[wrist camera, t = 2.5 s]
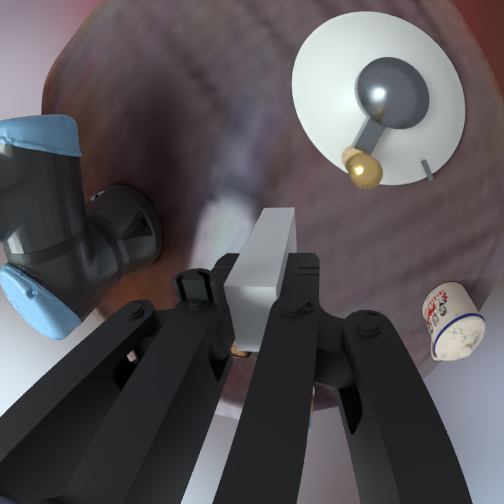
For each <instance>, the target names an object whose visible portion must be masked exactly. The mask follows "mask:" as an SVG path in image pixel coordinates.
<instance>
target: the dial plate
mask: <svg viewBox="0 0 504 504" xmlns="http://www.w3.org/2000/svg"><path fill="white" fill-rule="evenodd" d="M382 57H394V58H398V59H401V60H403V61H405V62H407V63H409V64H410V65H412V66H413V67H414V68H415V69H416V70H417V71H418V72H419V73H420V74H421V76H422V77H423V79H424V80H425V82H426V85H427V87H428V91H429V100H430V102H429V108H428V111H427V114H426V115H425V117H424V118H423V120H422V121H421V122H420V123H419V124H417V125H416V126H414V127H411V128H408V129H393V128H388V127H386V128H385V130H384V132H383V133H382V135H381V137H380V139H379V141H378V143H377V144H376V146H375V148H374V150H373V152H372V153H371V156H373V157H374V158H375V159H377V160H378V161H379V163H380V164H381V166H382V169H383V177H382V180H381V182H380V183H379V184H385V185H401V184H407V183H412V182H415V181H419V180H421V179H423V178H425V177H428V180H429V182H431V181H433V180H434V178H433V176H432V174H433V173H434V172H436V171H437V170H438V169H440V168H441V167H442V166H443V165H444V164H445V163H446V162H447V161H448V159H449V158H450V157H451V156H452V154H453V153H454V151H455V149H456V148H457V146H458V143H459V141H460V139H461V135H462V132H463V128H464V122H465V101H464V94H463V90H462V86H461V83H460V80H459V77H458V75H457V72H456V70H455V68H454V66H453V64H452V63H451V61H450V60H449V58H448V57H447V55H446V54H445V52H444V51H443V50H442V49H441V48H440V46H439V45H438V44H437V43H436V42H435V41H434V40H433V39H432V38H431V37H430V36H428V35H427V34H426V33H424V32H423V31H422V30H420V29H419V28H417V27H416V26H414V25H412V24H411V23H409V22H407V21H405V20H402V19H400V18H398V17H395V16H391V15H388V14H383V13H378V12H352V13H348V14H344V15H340V16H337V17H335V18H333V19H330V20H329V21H327V22H325V23H323V24H322V25H320V26H319V27H318V28H317V29H316V30H314V31H313V32H312V33H311V35H310V36H309V37H308V38H307V39H306V40H305V42H304V44H303V45H302V47H301V48H300V50H299V53H298V55H297V58H296V60H295V64H294V68H293V75H292V94H293V100H294V105H295V108H296V112H297V115H298V118H299V120H300V122H301V124H302V126H303V128H304V130H305V132H306V133H307V135H308V137H309V138H310V140H311V141H312V142H313V144H314V145H315V146H316V148H317V149H318V150H319V151H320V152H321V153H322V154H323V155H324V156H325V157H326V158H327V159H328V160H330V161H331V162H332V163H333V164H334V165H336V166H337V167H339V168H340V169H342V170H343V171H345V172H347V170H346V168H345V167H344V165H343V163H342V160H341V156H342V153H343V151H344V150H345V149H346V148H347V147H349V146H351V145H352V143H353V141H354V140H355V138H356V136H357V134H358V132H359V130H360V128H361V127H362V125H363V123H364V121H365V119H366V117H367V116H366V115H365V114H364V113H363V112H362V110H361V109H360V107H359V105H358V103H357V101H356V97H355V91H354V87H355V81H356V78H357V76H358V74H359V72H360V71H361V70H362V69H363V68H364V67H365V66H366V65H368V64H369V63H370V62H372V61H373V60H375V59H378V58H382ZM347 173H348V172H347Z"/></svg>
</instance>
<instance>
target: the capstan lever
mask: <svg viewBox="0 0 504 504" xmlns="http://www.w3.org/2000/svg"><path fill="white" fill-rule="evenodd" d="M354 91H355V97H356V101H357V103H358V105H359V107H360V109H361V110H362V112H363V113H364V114H365V115H366V116H367V117H366V119H365V121H364V123H363V125H362V127H361V128H360V130H359V132H358V134H357V136H356V138H355V140H354V141H353V143H352V145H351V146H349V147H347V148H346V149H345V150H344V151H343V153H342V156H341V160H342V163H343V165H344V167H345V168H346V170H347V172H348V174H349V175H350V177H351V179H352V181H353V182H354V183H355V184H356V185H357V186H358V187H360V188H362V189H371V188H374V187H376V186H377V185H378V184H379V183H380V182H381V180H382V177H383V169H382V166H381V164H380V163H379V161H378V160H377V159H375V158H374V157H373V156H371V153H372V152H373V150H374V148H375V146H376V144H377V143H378V141H379V139H380V137H381V135H382V133H383V132H384V130H385V128H386V127H388V128H393V129H408V128H411V127H414V126H416V125H417V124H419V123H420V122H421V121H422V120H423V118H424V117H425V115H426V114H427V111H428V108H429V102H430V100H429V91H428V87H427V85H426V82H425V80H424V79H423V77H422V76H421V74H420V73H419V72H418V71H417V70H416V69H415V68H414V67H413V66H412V65H410V64H409V63H407V62H405V61H403V60H401V59H398V58H394V57H382V58H378V59H375V60H373V61H372V62H370V63H369V64H368V65H366V66H365V67H364V68H363V69H362V70H361V71H360V72H359V74H358V76H357V78H356V81H355V87H354Z"/></svg>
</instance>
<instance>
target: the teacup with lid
mask: <svg viewBox="0 0 504 504" xmlns="http://www.w3.org/2000/svg"><path fill="white" fill-rule="evenodd" d="M422 312H423V316H424V319H425V322H426V324H427V327H428V330H429V333H430V335H431V338H432V342H431V354H432V357H433V359H434V360H445V361H453V360H457V359H460V358H462V357H467V356H469V355H470V354H471V352H472V351H473V350H474V349H475V348H476V347H477V346H478V345H479V343H480V342H481V341H482V339H483V336H484V334H485V329H486V325H485V320H484V318H483V317H482V316H481V315H480V314H479V312H478V310H477V309H476V307H475V305H474V304H473V302H472V300H471V298H470V297H469V295H468V293H467V292H466V290H465V289H464V287H463V286H462V285H461V284H459V283H456V282H448V283H444V284H442V285H440V286H438V287H436V288H435V289H434V290H433V291H432V292H431V293H430V294H429V295H428V296H427V298H426V299H425V302H424V304H423V309H422Z"/></svg>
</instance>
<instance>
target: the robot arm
mask: <svg viewBox="0 0 504 504" xmlns="http://www.w3.org/2000/svg"><path fill="white" fill-rule="evenodd" d="M80 156H82V152H81V151H80V147H79V137H78V127H77V123H76V121H75V120H74V119H73V118H72V117H71V116H69V115H64V114H53V115H38V116H27V117H19V118H12V119H6V120H2V121H0V243H2V245H3V247H4V250H5V254H6V257H7V260H8V263H7V264H4V265H2V268H1V270H0V283H1V286H2V288H3V290H4V292H5V294H6V296H7V298H8V299H9V301H10V302H11V303H12V305H13V306H14V307H15V309H16V310H17V311H18V313H19V314H20V315H21V316H22V317H23V318H24V319H25V320H26V321H27V322H28V323H29V324H30V325H31V326H32V327H33V328H34V329H36V330H37V331H38V332H40V333H41V334H43V335H44V336H46V337H48V338H50V339H54V340H62V339H64V338H66V337H67V336H68V335H69V334H70V333H71V332H72V331H73V330H74V329H75V328H76V327H77V326H80V325H81V323H82V322H83V321H84V320H85V319H86V317H87V316H88V315H89V314H90V313H91V312H92V311H93V309H94V308H95V307H96V306H97V305H98V304H99V303H100V302H101V300H102V299H103V298H104V297H105V296H106V295H107V294H108V293H109V292H110V290H111V289H112V288H113V287H114V286H115V285H116V284H117V283H118V282H119V281H120V280H122V279H125V278H127V277H130V276H132V275H134V274H136V273H140V272H142V271H144V270H145V269H147V268H148V267H149V266H150V265H151V264H152V263H153V262H154V261H155V260H156V259H157V257H158V256H159V254H160V251H161V248H162V243H163V234H162V228H161V224H160V221H159V218H158V216H157V214H156V212H155V210H154V208H153V207H152V205H151V204H150V203H149V201H148V200H147V199H146V198H145V197H144V196H143V195H142V194H140V193H139V192H138V191H136V190H134V189H133V188H130V187H128V186H124V185H112V186H109V187H106V188H104V189H102V190H100V191H99V192H97V193H96V194H95V195H94V196H93V197H92V198H91V199H90V200H89V202H88V203H87V204H86V205H85V200H84V193H83V185H82V176H81V164H80ZM172 281H173V284H174V287H175V291H176V294H177V297H178V300H179V302H178V304H177V305H176V307H175V308H173V309H167V310H159V311H155V309H154V306H153V304H152V303H151V302H150V301H148V300H143V299H141V300H134V301H132V302H129V303H127V304H126V305H124V306H122V307H121V308H120V309H119V310H118V311H116V312H115V313H114V314H113V315H112V316H110V317H109V318H108V319H107V320H106V321H105V322H103V323H102V324H101V325H100V326H99V327H98V328H96V329H95V330H94V331H93V332H92V333H91V334H89V335H88V336H87V337H86V338H85V339H84V340H83V341H81V342H80V343H79V344H78V345H77V346H76V347H75V348H73V349H72V350H71V351H70V352H69V353H68V354H67V355H66V356H64V357H63V358H62V359H61V360H60V361H59V362H58V363H57V364H56V365H54V366H53V367H52V368H51V369H50V370H49V371H48V372H47V373H46V374H45V375H43V376H42V377H41V378H40V379H39V380H38V381H37V382H36V383H35V384H34V385H33V386H32V387H31V388H30V389H29V390H28V391H26V392H25V393H24V394H23V395H22V396H21V397H20V398H19V399H18V400H17V401H16V402H15V403H14V404H13V405H12V406H11V407H10V408H9V409H8V410H7V411H6V412H5V413H4V414H3V415H2V416H1V417H0V504H181V501H182V498H183V496H184V493H185V491H186V488H187V485H188V483H189V480H190V478H191V475H192V472H193V470H194V467H195V464H196V462H197V459H198V456H199V454H200V451H201V448H202V446H203V443H204V440H205V437H206V435H207V432H208V429H209V427H210V424H211V421H212V418H213V416H214V413H215V410H216V407H217V404H218V402H219V399H220V396H221V393H222V390H223V388H224V385H225V382H226V379H227V376H228V374H229V371H230V368H231V365H232V362H233V355H232V351H231V348H232V346H233V343H234V340H235V343H236V347H237V350H241V351H252V352H259V354H258V357H257V361H256V364H255V368H254V371H253V375H252V379H251V382H250V386H249V389H248V392H247V396H246V399H245V403H244V406H243V409H242V413H241V416H240V419H239V423H238V426H237V429H236V433H235V436H234V439H233V442H232V446H231V449H230V452H229V455H228V458H227V461H226V465H225V467H224V471H223V474H222V477H221V480H220V483H219V486H218V489H217V492H216V494H215V497H214V501H213V503H212V504H296V503H297V498H298V492H299V487H300V482H301V475H302V470H303V464H304V458H305V451H306V444H307V437H308V430H309V422H310V414H311V405H312V395H313V385H314V381H316V382H319V383H322V384H325V385H329V386H332V387H334V391H335V395H336V399H337V402H338V406H339V410H340V414H341V418H342V422H343V426H344V430H345V434H346V438H347V442H348V446H349V451H350V455H351V460H352V464H353V469H354V473H355V478H356V483H357V487H358V492H359V497H360V502H361V504H473V503H472V500H471V497H470V494H469V490H468V487H467V484H466V481H465V478H464V475H463V472H462V470H461V467H460V464H459V461H458V459H457V456H456V454H455V451H454V448H453V446H452V443H451V441H450V438H449V436H448V434H447V431H446V429H445V427H444V424H443V422H442V420H441V417H440V415H439V413H438V411H437V409H436V406H435V404H434V402H433V400H432V398H431V396H430V394H429V392H428V390H427V388H426V386H425V384H424V382H423V380H422V378H421V376H420V374H419V372H418V370H417V368H416V366H415V364H414V362H413V360H412V358H411V357H410V355H409V353H408V351H407V349H406V347H405V346H404V344H403V342H402V340H401V338H400V337H399V335H398V333H397V331H396V330H395V328H394V326H393V324H392V323H391V321H390V320H389V319H388V318H387V317H386V316H385V315H383V314H381V313H379V312H376V311H372V310H360V311H357V312H354V313H352V314H350V315H349V316H348V317H346V319H342V318H338V317H335V316H332V315H330V314H328V313H327V312H325V311H324V310H323V309H322V308H321V306H320V304H319V258H318V257H317V256H316V255H315V253H297V245H296V223H295V207H291V208H264V209H263V211H262V213H261V215H260V217H259V219H258V221H257V222H256V224H255V226H254V228H253V230H252V232H251V234H250V236H249V238H248V240H247V241H246V243H245V245H244V247H243V249H242V251H241V253H227V254H225V255H224V256H223V257H221V258H220V259H218V261H217V262H216V264H215V265H214V268H213V269H212V270H211V271H209V270H208V269H202V268H197V269H190V270H186V271H183V272H181V273H180V274H178V275H176V276H175V277H174V278H173V279H172ZM131 351H133V353H134V355H135V356H136V359H135V360H134V361H129V359H128V358H127V355H128V354H129V353H130V352H131Z"/></svg>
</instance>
